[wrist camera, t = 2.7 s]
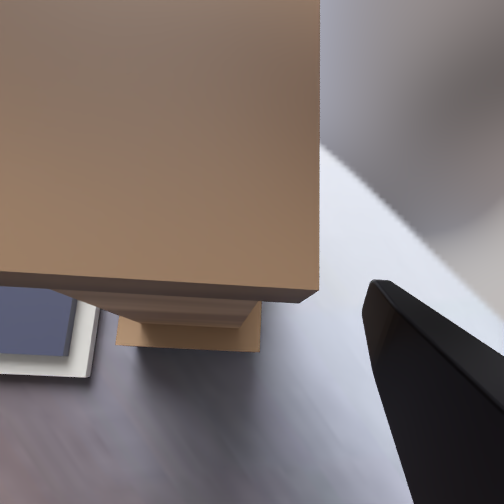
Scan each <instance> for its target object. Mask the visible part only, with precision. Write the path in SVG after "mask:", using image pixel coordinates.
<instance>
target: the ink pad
mask: <svg viewBox="0 0 504 504" xmlns="http://www.w3.org/2000/svg"><path fill="white" fill-rule="evenodd" d="M99 313H100V308H98V307H95V306H93V305H90V304H87V303H85V302H82V301H80V300H77V299H74V298H72V297H69V296H66V295H64V294H61V293H58V292H56V291H53V290H50V289H41V288H24V287H7V286H0V374H18V375H41V376H63V377H90V374H91V368H92V361H93V354H94V347H95V341H96V334H97V327H98V320H99Z"/></svg>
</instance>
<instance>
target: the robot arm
mask: <svg viewBox="0 0 504 504" xmlns="http://www.w3.org/2000/svg"><path fill="white" fill-rule="evenodd" d="M362 319H363V324H364V329H365V335H366V340H367V345H368V351H369V356H370V361H371V366H372V371H373V375H374V378H375V382H376V385H377V388H378V392H379V395H380V398H381V401H382V404H383V407H384V411H385V414H386V417H387V420H388V423H389V426H390V430H391V433H392V436H393V439H394V442H395V445H396V449H397V452H398V455H399V458H400V461H401V465H402V468H403V471H404V474H405V477H406V480H407V484H408V487H409V490H410V493H411V496H412V499H413V503H414V504H504V356H503V355H501V354H500V353H498V352H496V351H495V350H493V349H492V348H490V347H489V346H487V345H486V344H484V343H483V342H481V341H480V340H478V339H477V338H475V337H474V336H472V335H471V334H469V333H468V332H466V331H465V330H463V329H462V328H460V327H459V326H457V325H456V324H454V323H453V322H451V321H450V320H448V319H447V318H445V317H444V316H442V315H441V314H439V313H438V312H436V311H435V310H433V309H432V308H430V307H429V306H427V305H426V304H424V303H423V302H421V301H420V300H418V299H417V298H415V297H414V296H412V295H411V294H409V293H408V292H406V291H405V290H403V289H402V288H400V287H399V286H397V285H396V284H394V283H393V282H391V281H389V280H372V281H371V282H370V284H369V287H368V290H367V294H366V297H365V301H364V304H363V308H362Z"/></svg>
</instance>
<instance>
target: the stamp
mask: <svg viewBox="0 0 504 504" xmlns="http://www.w3.org/2000/svg"><path fill="white" fill-rule="evenodd" d="M319 105H320V0H0V286H7V287H24V288H41V289H50V290H53V291H56V292H58V293H61V294H64V295H66V296H69V297H72V298H74V299H77V300H80V301H82V302H85V303H87V304H90V305H93V306H95V307H98V308H101V309H103V310H106V311H109V312H111V313H114V314H117V315H119V321H118V329H117V336H116V344H115V345H123V346H137V347H158V348H178V349H198V350H218V351H238V352H260V329H261V304H262V301H266V302H284V303H300V302H302V301H303V300H305V299H306V298H308V297H309V296H311V295H313V294H314V293H316V292H317V291H319V145H320V132H319V129H320V126H319V125H320V106H319Z"/></svg>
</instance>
